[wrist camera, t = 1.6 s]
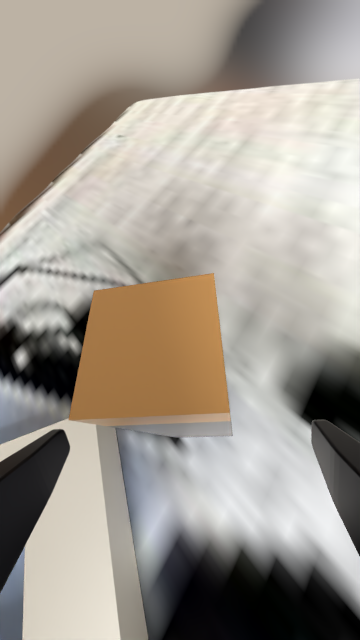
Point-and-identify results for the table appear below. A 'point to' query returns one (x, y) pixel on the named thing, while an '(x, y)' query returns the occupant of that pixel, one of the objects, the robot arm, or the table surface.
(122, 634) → the socket block
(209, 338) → the plug
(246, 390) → the table surface
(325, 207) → the table surface
